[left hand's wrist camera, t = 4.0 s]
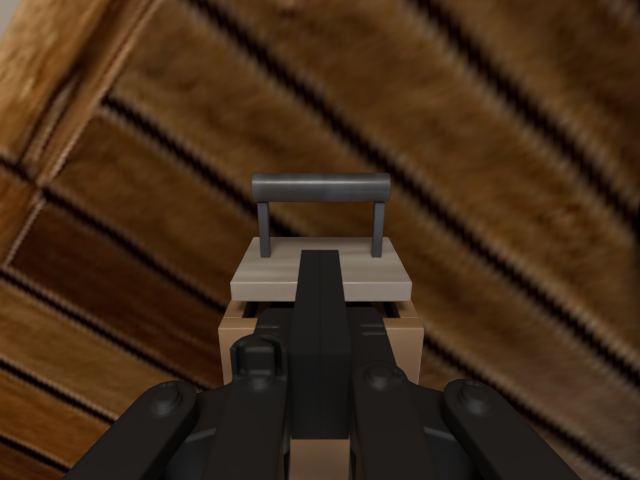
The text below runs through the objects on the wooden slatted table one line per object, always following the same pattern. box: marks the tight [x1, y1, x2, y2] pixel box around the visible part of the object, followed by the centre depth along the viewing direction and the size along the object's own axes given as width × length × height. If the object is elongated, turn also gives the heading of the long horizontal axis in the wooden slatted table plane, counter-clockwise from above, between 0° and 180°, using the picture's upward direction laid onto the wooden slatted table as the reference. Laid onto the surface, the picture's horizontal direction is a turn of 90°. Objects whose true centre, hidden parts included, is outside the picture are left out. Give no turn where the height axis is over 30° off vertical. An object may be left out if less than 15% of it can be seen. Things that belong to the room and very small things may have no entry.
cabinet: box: [218, 299, 424, 480], centre depth 27 cm, size 20×11×10 cm, turn 0°
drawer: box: [230, 173, 412, 318], centre depth 25 cm, size 24×10×7 cm, turn 0°
